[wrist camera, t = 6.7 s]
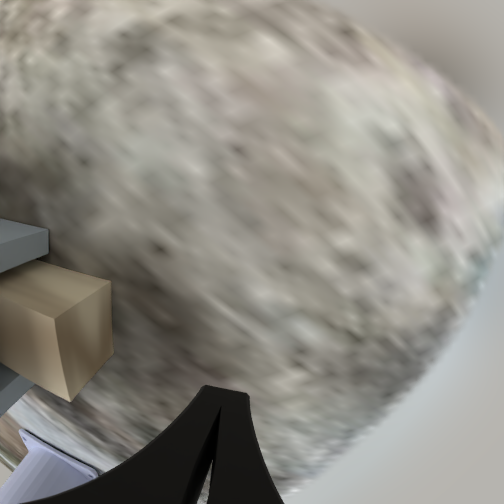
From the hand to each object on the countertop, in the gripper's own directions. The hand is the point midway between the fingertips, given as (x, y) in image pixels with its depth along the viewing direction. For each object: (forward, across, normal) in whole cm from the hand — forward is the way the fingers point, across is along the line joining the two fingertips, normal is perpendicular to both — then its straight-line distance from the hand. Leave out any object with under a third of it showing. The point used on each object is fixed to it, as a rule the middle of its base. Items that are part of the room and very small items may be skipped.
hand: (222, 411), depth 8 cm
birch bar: (+4, +10, 0) cm, 10 cm away
